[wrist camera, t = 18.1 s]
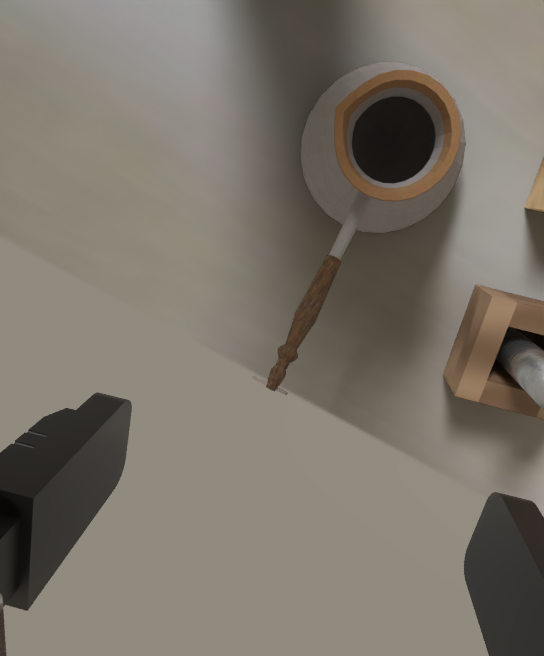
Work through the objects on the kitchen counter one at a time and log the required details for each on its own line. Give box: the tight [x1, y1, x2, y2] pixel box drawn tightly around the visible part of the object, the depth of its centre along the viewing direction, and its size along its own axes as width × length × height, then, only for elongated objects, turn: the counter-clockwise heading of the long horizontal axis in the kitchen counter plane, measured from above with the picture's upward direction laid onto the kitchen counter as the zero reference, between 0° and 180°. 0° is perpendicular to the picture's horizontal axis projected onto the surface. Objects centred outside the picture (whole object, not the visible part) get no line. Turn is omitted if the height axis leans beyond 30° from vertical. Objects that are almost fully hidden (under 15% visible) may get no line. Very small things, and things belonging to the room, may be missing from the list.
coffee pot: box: [252, 62, 466, 395], centre depth 32 cm, size 21×12×15 cm, turn 154°
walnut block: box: [443, 285, 544, 419], centre depth 38 cm, size 8×8×4 cm
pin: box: [496, 327, 544, 409], centre depth 35 cm, size 3×3×10 cm
